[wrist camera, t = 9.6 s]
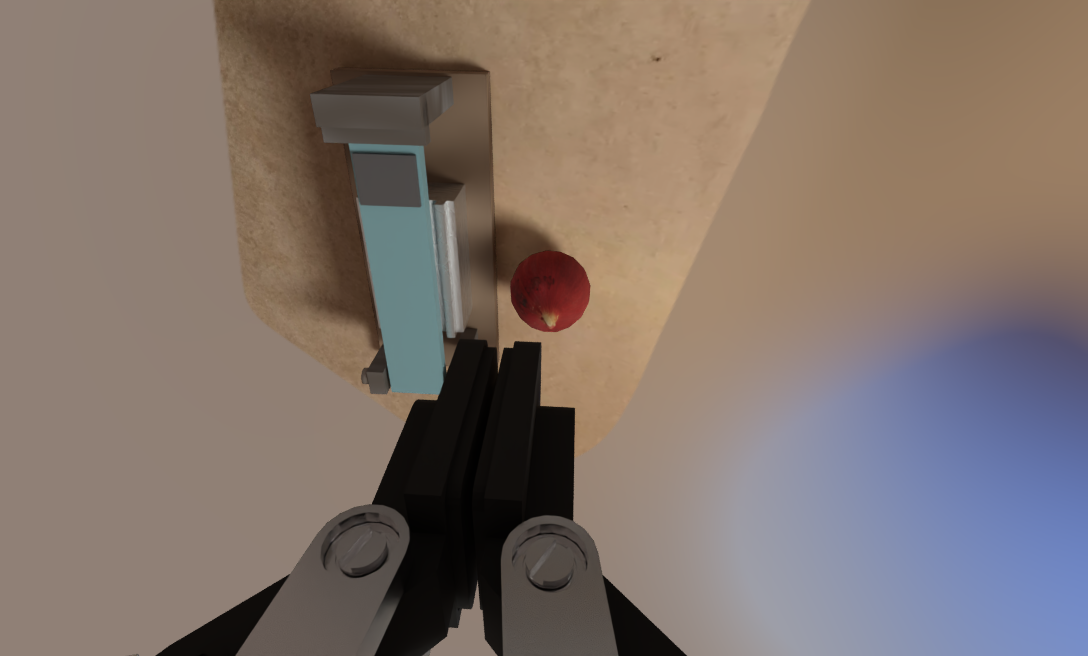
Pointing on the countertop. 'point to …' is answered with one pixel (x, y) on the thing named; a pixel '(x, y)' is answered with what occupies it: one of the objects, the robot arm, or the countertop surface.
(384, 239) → the bar
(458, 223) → the heat sink
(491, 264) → the clip base
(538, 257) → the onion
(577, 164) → the countertop surface
